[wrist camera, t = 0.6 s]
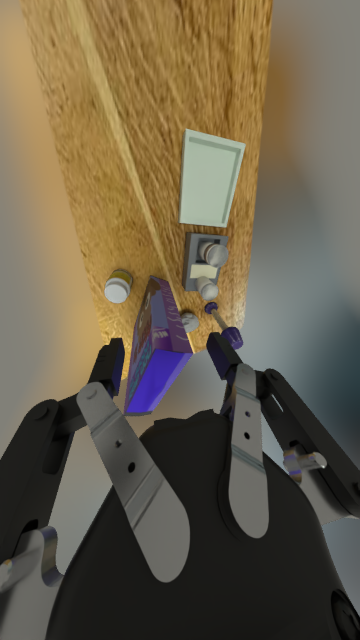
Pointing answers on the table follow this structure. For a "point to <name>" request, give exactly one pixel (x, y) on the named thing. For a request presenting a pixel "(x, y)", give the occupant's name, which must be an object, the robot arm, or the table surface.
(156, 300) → the cereal box
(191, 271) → the fuse block
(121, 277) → the supplement bottle
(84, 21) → the table surface
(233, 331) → the toy lamp
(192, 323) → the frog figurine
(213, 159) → the pale green flat frame
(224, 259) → the cylinder
